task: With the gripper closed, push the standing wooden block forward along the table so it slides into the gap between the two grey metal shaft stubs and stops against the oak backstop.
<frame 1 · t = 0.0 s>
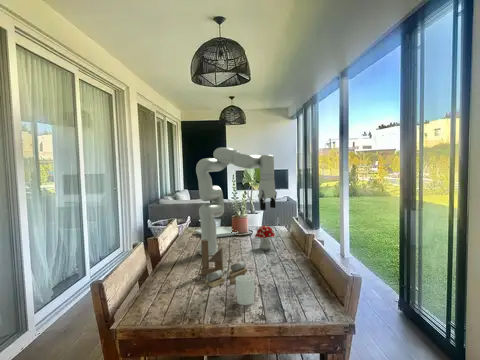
hand: (268, 208, 191), 31 cm above the table, tool pointing down, fingers open, 9 cm apart
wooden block: (212, 275, 178), on the table
square plate: (216, 235, 278), on the table
decorative mushroom: (265, 248, 229), on the table
white cup: (245, 302, 143), on the table
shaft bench: (227, 278, 172), on the table
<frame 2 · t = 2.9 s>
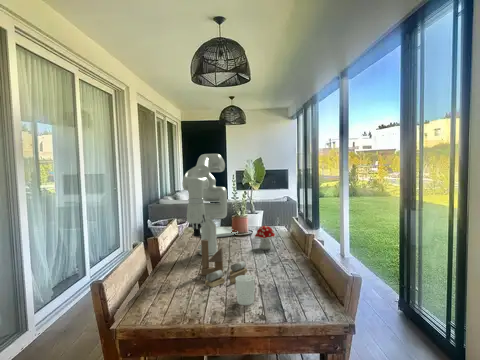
hand: (197, 236, 184), 19 cm above the table, tool pointing down, fingers closed
nothing on the table moved.
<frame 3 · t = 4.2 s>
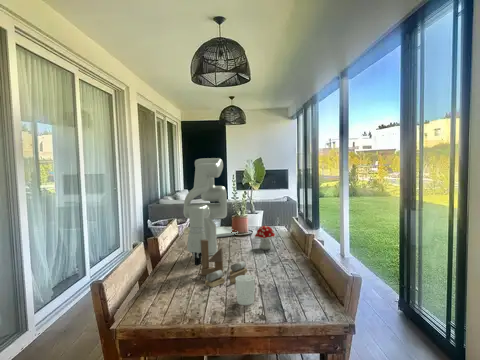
hand: (197, 264, 184), 4 cm above the table, tool pointing down, fingers closed
nothing on the table moved.
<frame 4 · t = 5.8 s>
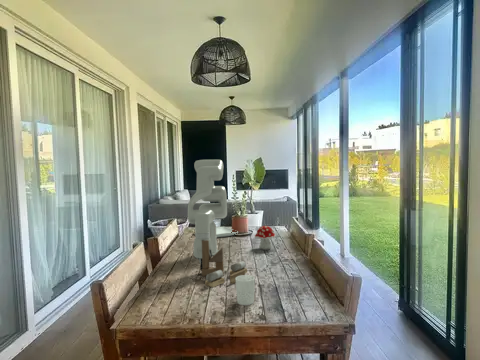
hand: (203, 270, 182), 1 cm above the table, tool pointing down, fingers closed
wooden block: (212, 275, 178), on the table, touching gripper
everything else where it was.
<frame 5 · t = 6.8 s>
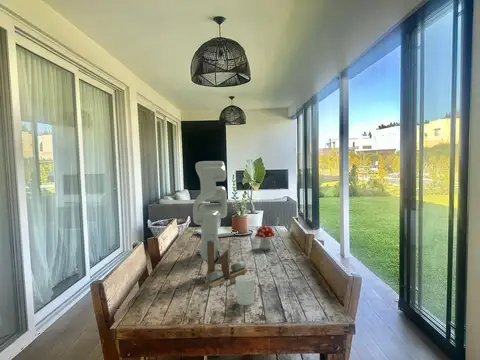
hand: (211, 272, 178), 1 cm above the table, tool pointing down, fingers closed
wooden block: (218, 277, 174), on the table, touching gripper
everything else where it was.
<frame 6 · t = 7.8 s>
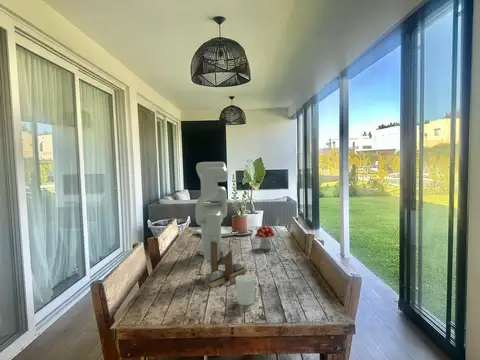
hand: (214, 273, 177), 1 cm above the table, tool pointing down, fingers closed
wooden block: (221, 278, 173), on the table, touching gripper
everything else where it was.
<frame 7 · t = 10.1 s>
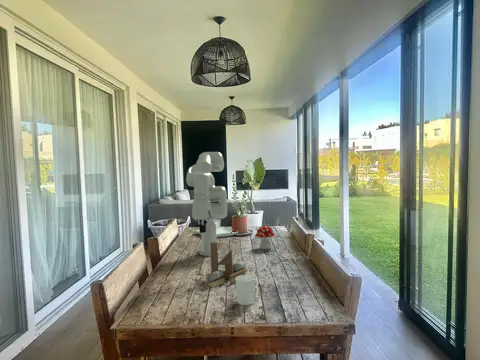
hand: (202, 232, 181), 21 cm above the table, tool pointing down, fingers closed
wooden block: (221, 278, 173), on the table
everything else where it was.
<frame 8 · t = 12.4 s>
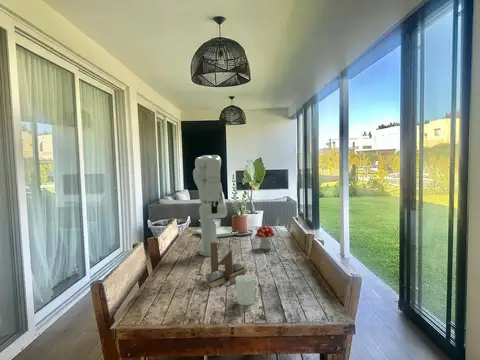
hand: (214, 213, 194), 29 cm above the table, tool pointing down, fingers closed
nothing on the table moved.
at the end: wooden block 2.8 cm from the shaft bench (horizontally); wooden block tilted 0°; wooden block moved 7.6 cm from its start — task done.
